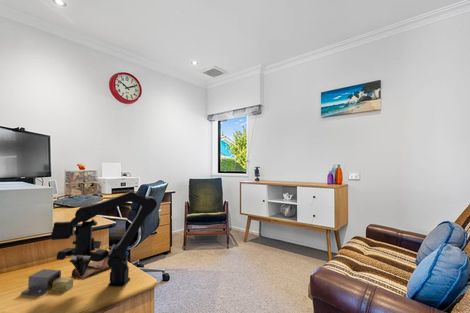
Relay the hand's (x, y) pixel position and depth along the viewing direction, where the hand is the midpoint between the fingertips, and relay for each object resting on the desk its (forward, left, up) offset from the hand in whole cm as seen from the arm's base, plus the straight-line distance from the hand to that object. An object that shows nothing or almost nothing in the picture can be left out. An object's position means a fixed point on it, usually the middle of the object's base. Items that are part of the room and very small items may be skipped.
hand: (82, 275), depth 96 cm
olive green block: (+8, 0, -6) cm, 10 cm away
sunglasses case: (+5, -16, -6) cm, 18 cm away
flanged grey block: (+16, 0, -5) cm, 17 cm away
